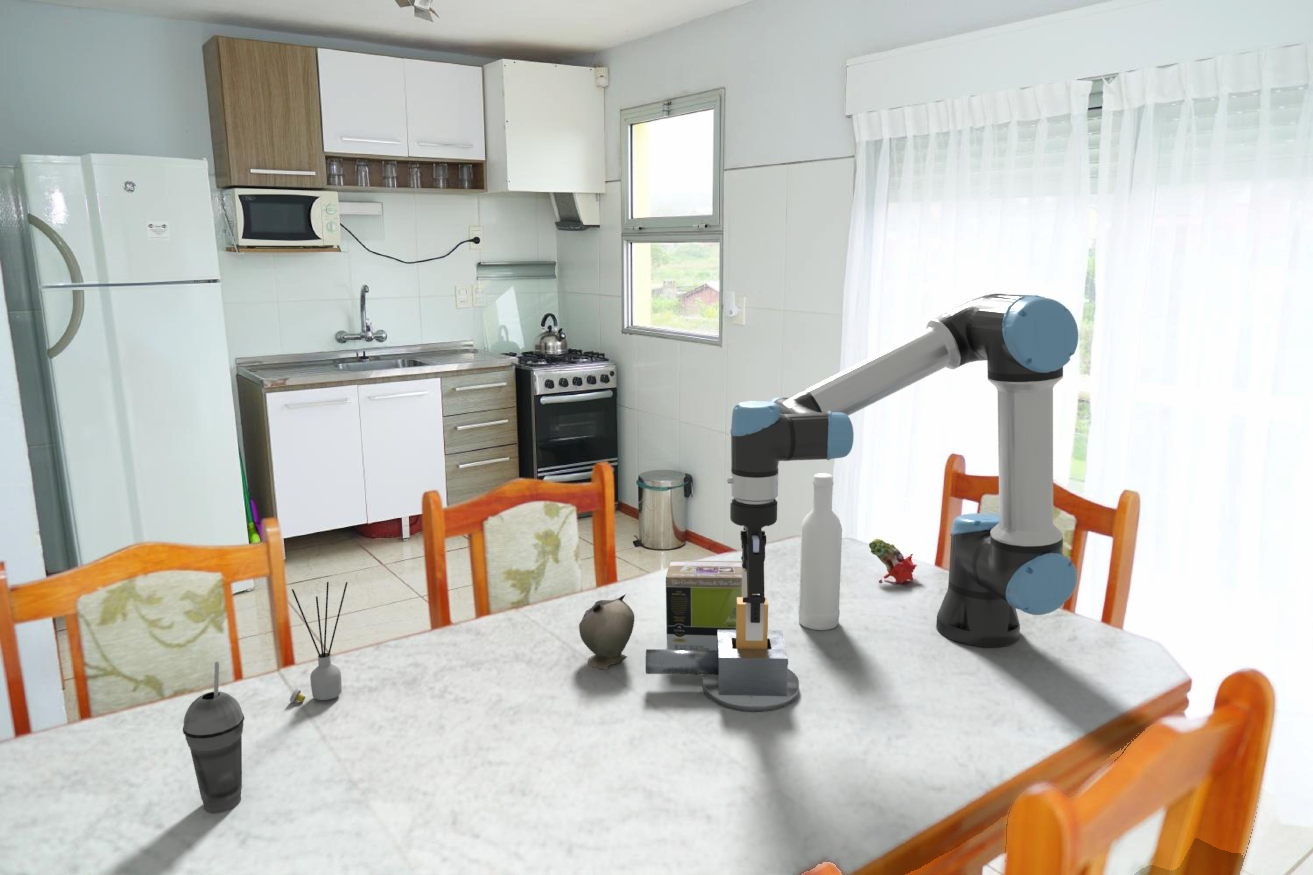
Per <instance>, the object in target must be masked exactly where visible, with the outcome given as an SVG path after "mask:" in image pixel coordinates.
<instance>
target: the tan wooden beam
mask: <svg viewBox="0 0 1313 875" xmlns="http://www.w3.org/2000/svg"><path fill="white" fill-rule="evenodd" d="M768 630H769V601H768V597H765V602H764V616H763V641H749V640H746V603H743V597H737V607H736V649H767V638H768Z"/></svg>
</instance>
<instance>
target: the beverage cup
mask: <svg viewBox="0 0 1313 875" xmlns="http://www.w3.org/2000/svg"><path fill="white" fill-rule="evenodd" d="M219 665H220V662H219V661H215V662H214V679H213V680H214V682H213V685H214V686H213V691H210V692H206V693H203V694H202V695H199V696H198V697H197V698H196V699H194V701H192V703H191V704H190V705H189V707H188V708H187V710H186V712H185V714H184V718H183V726H182V732H183V733H182V734H184V736H185V740H186V743H187V746H188V747H189V750H190V753H191V755H190V756H191V758H192V762H193V763H192V764H193V767H194V772H195V775H196V781H197V785H198V786H197V787H198V788H199V789H198V790H199V795H200V799H201V800H202V805H203V810H204V811H205V812H207V813H210V814H218V813H223V812H228V811H230V810H232V809H234V808H235V807H237V806H239V804H240V803H241V801H242V788H243V779H242V778H243V776H242V774H243V770H242V769H243V767H242V766H243V760H242V759H243V758H242V756H243V753H242V749H243V748H242V747H243V744H242V743H243V741H242V738H243V737H242V736H243V732H244V721H245V715H244V713H243V711H242V707H241V705H240V703H239V702H238V700H237V699H236V698H235V697H234V696H232V695H231V694H229V693H226V692H223V691H219V683H220V682H219V680H220V678H219V676H220V675H219V674H220V671H219V670H220V669H219V668H220V666H219Z"/></svg>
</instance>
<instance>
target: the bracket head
mask: <svg viewBox="0 0 1313 875" xmlns="http://www.w3.org/2000/svg"><path fill="white" fill-rule="evenodd" d="M785 644H786V643H785V640H784V635H783V631H782V630H780V629H779V630H777V629H774V630H772V629H771V630H770V629H768V638H767V649H736V630H717V650H667V649H654V648H653V649H650V648H649V649H646V650H645V674H646V675H688V676H689V675H696V676H697V675H698V676H699V675H700V676H702V675H703V676H702V692H703V693H704V695H705V696H706V698H708V699H709V700H710V701H712V702H713V703H715V704H717V705H719V706H721V707H723V708H727V709H730V710H734V711H740V712H750V713H758V712H759V713H761V712H770V711H776V710H780V709H782V708H785V707H788V706H789V705H791V704H792V703H793V702H795V701H796V700H797V698H798V696H799V692H800V690H799V688H800V680H799V678H798V676H797V675H796V673H794V671H792V670H791V669H789V665H788V664H789V663H788V662H789V658H788V653H787V649H786V648H787V647H786V645H785Z"/></svg>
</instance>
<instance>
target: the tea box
mask: <svg viewBox="0 0 1313 875" xmlns="http://www.w3.org/2000/svg"><path fill="white" fill-rule="evenodd" d="M742 570H745V569H743V567H742V560H738V561H737V560H736V561H734V560H733V561H732V560H730V561H729V560H725V561H724V560H675V559H674V560H670V561H669V564H668V567H667V572H666V575H665V606H666V607H665V613H666V614H665V616H666V618H665V621H666V623H665V624H666V625H665V626H666V629H665V630H666V650H717V630H736V607H737V597H742Z"/></svg>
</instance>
